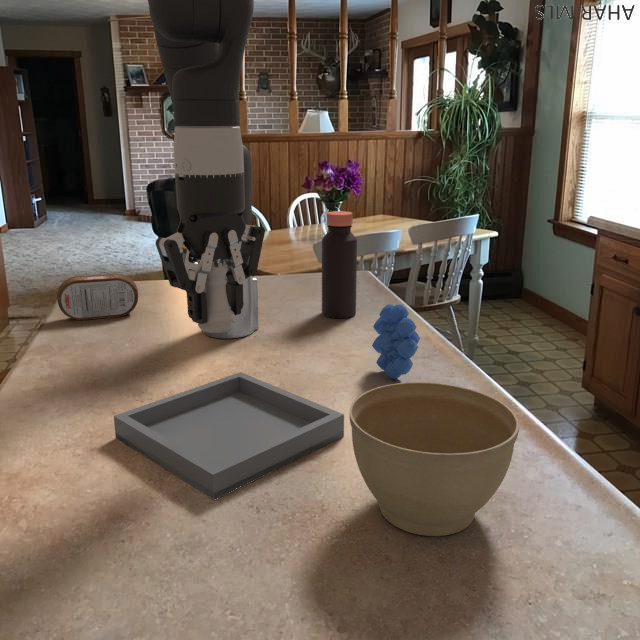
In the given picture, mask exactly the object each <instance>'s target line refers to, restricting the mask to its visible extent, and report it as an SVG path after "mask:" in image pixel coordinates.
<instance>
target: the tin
mask: <svg viewBox="0 0 640 640" xmlns="http://www.w3.org/2000/svg"><path fill="white" fill-rule="evenodd" d="M56 298H57V305H58V307H59V309H60V311H61V312H62V313H63V315H65V316H66V317H68V318H70V319H72V320H75V321H76V320H77V321H86V320H96V319H109V318H110V319H111V318H120V317H125V316H127V315H129V314H130V313H132V312H133V311H134V309H135V308H136V306H137V304H138V301H139V289H138V287H137V285H136V283H135V280H133V279H132V278H130V277H129V276H128V275H125V274H121V273H107V274H89V275H87V274H86V275H74V276H71V277H69V278H67V279H65V280H63V282H62V283H61V284H60V286H59V287H58V289H57V293H56Z"/></svg>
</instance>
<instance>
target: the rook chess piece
mask: <svg viewBox="0 0 640 640" xmlns="http://www.w3.org/2000/svg"><path fill="white" fill-rule="evenodd" d="M228 270H229V269H228V268H227V267H226V265H225V261H224V260H220V263H218V260H216V261H214V263H212V266H211V271H210V272H209V273H208V274H207V278H206V283H205V292H206V302H207V323H204V324H198V323H197V326H198V328H199V329H200V330H201V331H202V332H203V333H204V332H208V333H222V332H227V331H230V330H232V329H233V327H234V326H235V324H236V323H235V322H234V321H233V319H234V317H235V314H234V312H233V311H232V310H231V307H230V306H229V303H228V300H227V294H226V283H227V281H226V280H225V274H226V273H227V271H228Z"/></svg>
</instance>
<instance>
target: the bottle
mask: <svg viewBox="0 0 640 640" xmlns="http://www.w3.org/2000/svg"><path fill="white" fill-rule="evenodd" d="M353 218H354V217H353V212H352V211H344V210H342V211H341V210H334V211H329V212H326V227H327V228H328V232H327V233H326V234H324V236H323V237H322V239H321V314H322V315H323V316H325V317H327V318H331V319H347V318H352V317H354V316H355V315H356V313H357V273H358V272H357V265H358V264H357V263H358V239H357V237H356V236H355V235H354V234H353V233H352V232H351V231H352V229H351V228H353Z"/></svg>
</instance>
